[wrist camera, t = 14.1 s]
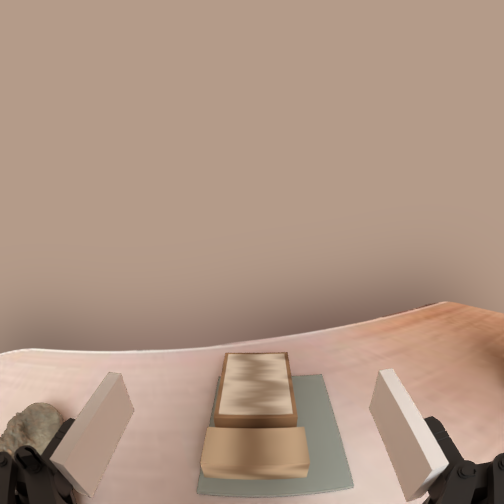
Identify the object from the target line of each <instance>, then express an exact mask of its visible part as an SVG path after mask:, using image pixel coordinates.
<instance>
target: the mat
mask: <svg viewBox="0 0 504 504" xmlns="http://www.w3.org/2000/svg"><path fill="white" fill-rule="evenodd" d="M291 378H292V384H293V390H294V396H295V403H296V409H297V416H298V419H297V427H304V428H305V434H306V440H307V446H308V453H309V459H310V465H309V469H308V473H307V477H305V478H292V479H271V480H242V479H220V478H207V477H204V474H203V471H202V467H201V471H200V476H199V482H198V487H197V494H205V495H216V496H232V497H281V496H297V495H308V494H317V493H325V492H332V491H338V490H344V489H350V488H353V487H354V484H353V480H352V476H351V473H350V469H349V465H348V462H347V458H346V455H345V451H344V447H343V444H342V440H341V437H340V433H339V430H338V427H337V423H336V420H335V416H334V413H333V410H332V406H331V403H330V400H329V396H328V393H327V390H326V386H325V383H324V380H323V377H322V374H320V375H306V376H291ZM220 380H221V377H219V379H218V384H217V389H216V394H215V399H214V404H213V409H212V414H211V419H210V425H209V427H215V423H214V412H215V407H216V401H217V396H218V390H219V385H220Z"/></svg>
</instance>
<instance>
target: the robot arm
mask: <svg viewBox="0 0 504 504" xmlns="http://www.w3.org/2000/svg"><path fill="white" fill-rule="evenodd" d="M369 409H370V412H371V414H372V416H373V419H374V421H375V423H376V426H377V428H378V430H379V433H380V435H381V438H382V440H383V442H384V445H385V447H386V450H387V452H388V455H389V457H390V460H391V462H392V465H393V467H394V470H395V472H396V475H397V478H398V480H399V483H400V485H401V488H402V491H403V493H404V496H405V499H406V502H409V501H412V500H415V499H417V498H420V497H422V496H423V495H424V494H425V493H426V492H427V491H428V493H429V495H430V496H429V497H428V498H427V499H426V500H425V501H424V502H423V504H504V453H501V454H499V455H498V456H496V457H495V459H494V460H493V461H492V462H488V463H483V464H475V463H474V462H471V461H469V460H464V459H463V458H462V456H461V454H460V453H459V451H458V449H457V448H456V446H455V444H454V443H453V441H452V439H451V438H450V437H449V435H448V433H447V431H445V428H444V427H443V425H442V423H441V422H440V421H439V420H437V419H436V418H434V417H433V416H431V417H428V418H425V419H423V417H422V415H421V414H420V412H419V410H418V409H417V407H416V405H415V404H414V402H413V400H412V399H411V397H410V396H409V394H408V392H407V391H406V389H405V388H404V386H403V384H402V383H401V381H400V380H399V378H398V376H397V375H396V373H395V372H394V370H393V369H392V368H390V369H385V370H379V372H378V377H377V381H376V385H375V389H374V392H373V396H372V400H371V403H370V407H369ZM133 412H134V408H133V405H132V403H131V400H130V397H129V395H128V392H127V389H126V387H125V384H124V381H123V378H122V375H121V374H120V373H113V372H109V373H108V374H107V376H106V377H105V378H104V380H103V381H102V382H101V384H100V385H99V387H98V388H97V390H96V391H95V392H94V394H93V395H92V397H91V398H90V399H89V401H88V402H87V404H86V405H85V407H84V408H83V410H82V411H81V412H80V414H79V415H78V417H77V418H76V420H75V419H72V418H70V419H68V420H67V421H65V422H64V423H63V424H62V425H61V427H60V428H59V429H58V432H56V434H55V435H54V437H53V438H52V440H51V441H50V442H49V444H48V445H47V447H46V448H45V450H44V451H43V453H42V454H41V456H40V454H39V453H38V452H37V450H36V449H35V448H34V447H32V446H29V445H24V446H21V447H19V448H18V449H17V450H16V451H15V453H14V459H13V458H12V456H11V455H10V454H9V453H8V452H4V451H1V452H0V504H77V503H76V501H75V498H74V495H73V493H72V491H71V490H72V488H73V487H74V488H75V489H76V490H77V491H78V493H80V494H83V495H85V496H88V497H91V498H93V496H94V493H95V491H96V489H97V487H98V485H99V482H100V480H101V478H102V476H103V474H104V472H105V470H106V467H107V465H108V463H109V461H110V459H111V457H112V455H113V453H114V451H115V449H116V446H117V444H118V442H119V440H120V438H121V436H122V434H123V432H124V430H125V428H126V426H127V424H128V422H129V420H130V418H131V416H132V414H133Z"/></svg>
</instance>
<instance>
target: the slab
mask: <svg viewBox="0 0 504 504" xmlns="http://www.w3.org/2000/svg"><path fill="white" fill-rule="evenodd" d="M297 419H298V416H297V409H296V403H295V396H294V390H293V384H292V378H291V371H290V365H289V359H288V353H287V352H281V353H225V358H224V363H223V369H222V374H221V380H220V385H219V390H218V396H217V401H216V407H215V412H214V423H215V427H217V428H249V429H260V428H291V427H297Z"/></svg>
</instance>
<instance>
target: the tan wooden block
mask: <svg viewBox="0 0 504 504" xmlns="http://www.w3.org/2000/svg"><path fill="white" fill-rule="evenodd" d="M200 464H201V467H202V471H203V474H204V477H207V478H220V479H242V480H271V479H292V478H305V477H307V473H308V469H309V465H310V459H309V453H308V446H307V440H306V434H305V428H304V427H291V428H260V429H249V428H217V427H207V431H206V436H205V441H204V446H203V451H202V456H201V461H200Z"/></svg>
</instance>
